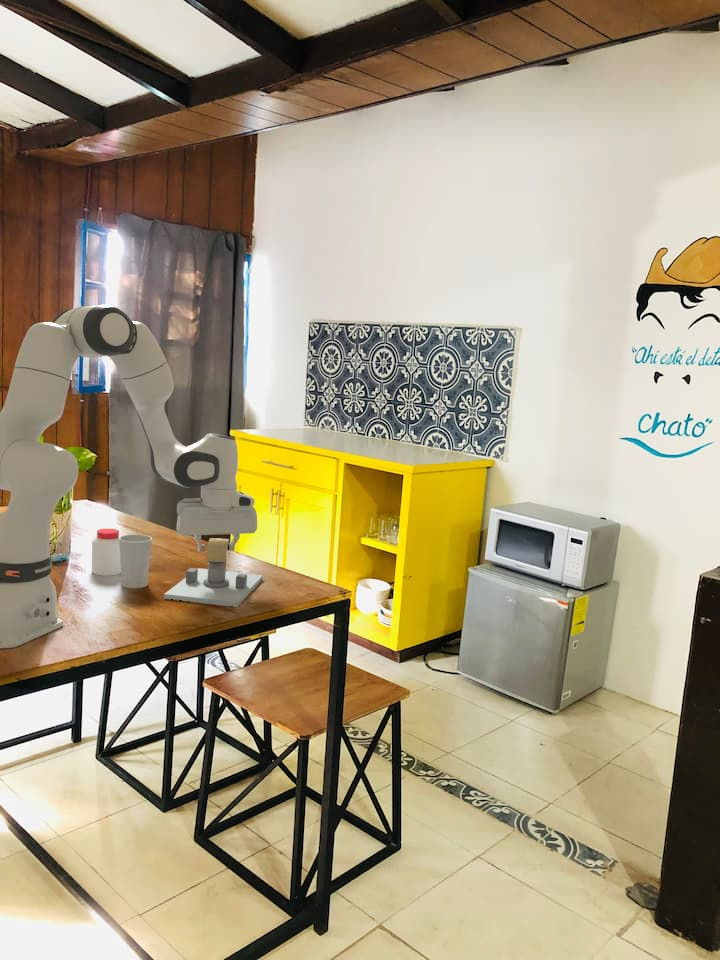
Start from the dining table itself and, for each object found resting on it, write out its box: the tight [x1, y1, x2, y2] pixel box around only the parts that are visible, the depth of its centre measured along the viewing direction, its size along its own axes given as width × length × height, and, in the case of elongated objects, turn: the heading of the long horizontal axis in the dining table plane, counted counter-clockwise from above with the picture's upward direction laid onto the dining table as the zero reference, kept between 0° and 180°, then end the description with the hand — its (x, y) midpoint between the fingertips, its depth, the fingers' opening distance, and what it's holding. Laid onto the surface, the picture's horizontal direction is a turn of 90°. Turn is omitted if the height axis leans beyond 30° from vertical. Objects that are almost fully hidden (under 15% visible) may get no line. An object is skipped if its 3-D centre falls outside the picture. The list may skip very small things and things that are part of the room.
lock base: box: [163, 561, 264, 608], centre depth 199 cm, size 24×18×7 cm
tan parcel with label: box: [205, 537, 230, 563], centre depth 198 cm, size 9×5×5 cm, turn 6°
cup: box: [119, 533, 153, 589], centre depth 197 cm, size 8×8×12 cm
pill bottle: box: [91, 528, 121, 577], centre depth 207 cm, size 8×8×11 cm
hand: (216, 551), depth 201 cm, fingers open, 6 cm apart
